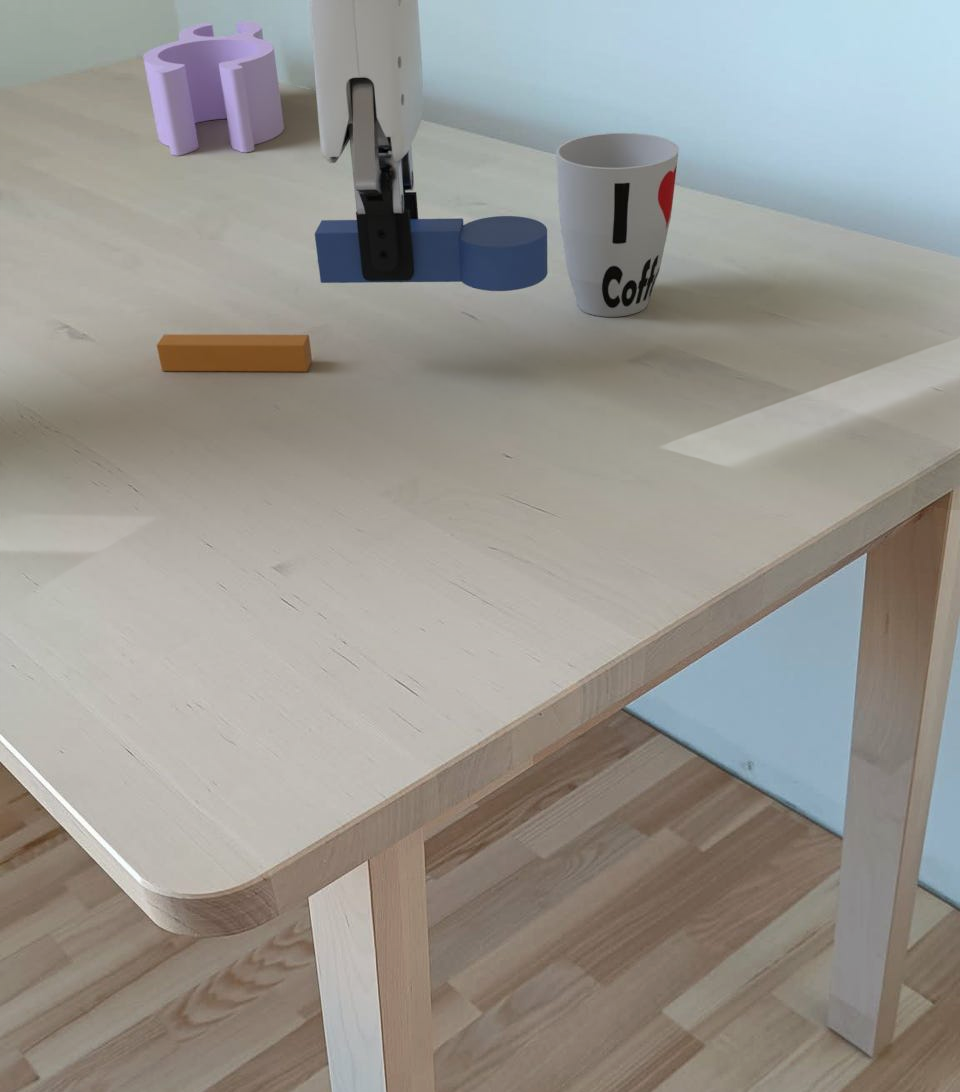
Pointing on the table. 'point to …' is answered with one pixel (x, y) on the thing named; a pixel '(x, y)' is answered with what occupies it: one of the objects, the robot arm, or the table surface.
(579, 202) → the cup
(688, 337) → the table surface
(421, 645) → the table surface
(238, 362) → the bar
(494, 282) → the spoon
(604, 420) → the table surface
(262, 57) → the clip
